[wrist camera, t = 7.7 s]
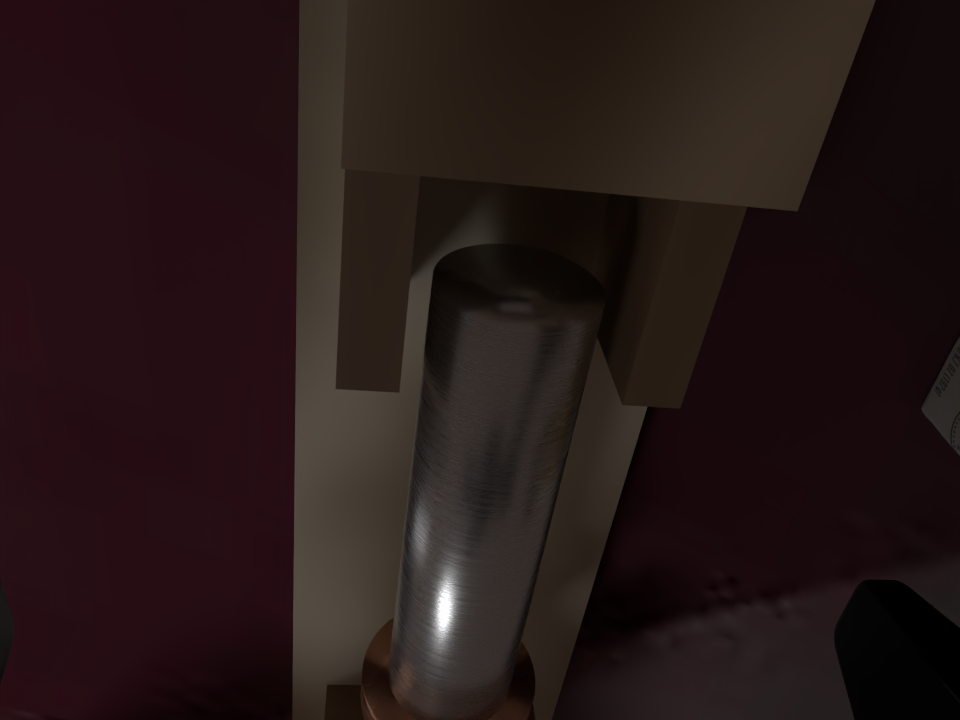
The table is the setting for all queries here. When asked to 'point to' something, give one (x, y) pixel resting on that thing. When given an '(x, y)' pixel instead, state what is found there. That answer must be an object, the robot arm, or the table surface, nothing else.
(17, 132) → the table surface
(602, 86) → the guide
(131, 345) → the table surface
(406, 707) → the rod
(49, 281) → the table surface
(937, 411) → the coffee box
